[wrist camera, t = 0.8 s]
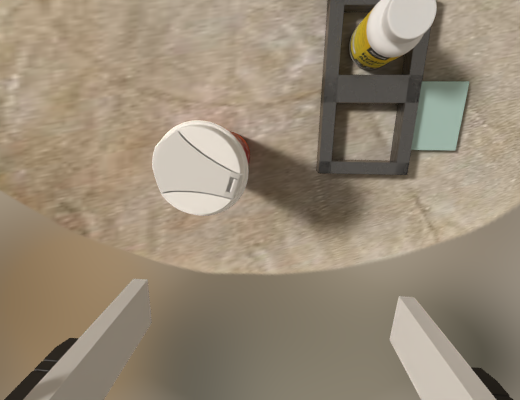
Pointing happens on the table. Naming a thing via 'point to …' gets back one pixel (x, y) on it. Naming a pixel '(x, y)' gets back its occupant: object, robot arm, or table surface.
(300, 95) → the table surface
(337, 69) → the grey rectangular frame
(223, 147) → the coffee cup
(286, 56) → the table surface
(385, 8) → the supplement bottle
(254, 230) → the table surface
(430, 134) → the mat
